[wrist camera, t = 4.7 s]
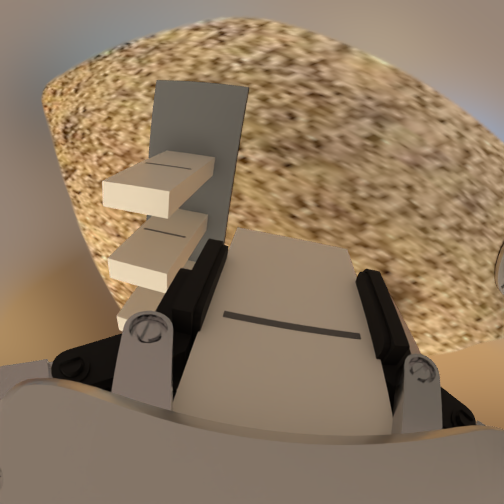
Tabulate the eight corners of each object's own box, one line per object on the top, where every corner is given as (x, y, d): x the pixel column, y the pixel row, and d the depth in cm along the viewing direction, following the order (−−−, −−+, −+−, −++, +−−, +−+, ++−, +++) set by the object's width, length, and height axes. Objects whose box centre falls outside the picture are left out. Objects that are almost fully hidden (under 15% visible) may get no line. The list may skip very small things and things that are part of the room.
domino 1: (215, 157, 26) (169, 191, 16) (212, 175, 27) (167, 219, 17) (167, 150, 26) (102, 180, 16) (165, 167, 27) (103, 206, 17)
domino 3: (203, 263, 32) (168, 332, 22) (202, 276, 33) (169, 346, 23) (162, 253, 32) (116, 315, 22) (162, 267, 33) (119, 330, 23)
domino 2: (208, 214, 29) (167, 273, 19) (206, 230, 30) (167, 294, 20) (163, 205, 29) (107, 258, 19) (162, 221, 30) (110, 277, 20)
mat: (249, 87, 22) (248, 87, 22) (213, 326, 37) (212, 328, 37) (158, 80, 23) (156, 80, 22) (151, 310, 37) (150, 312, 37)
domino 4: (347, 248, 12) (405, 518, 3) (335, 281, 13) (363, 529, 4) (237, 227, 12) (139, 505, 3) (232, 262, 13) (153, 513, 4)
